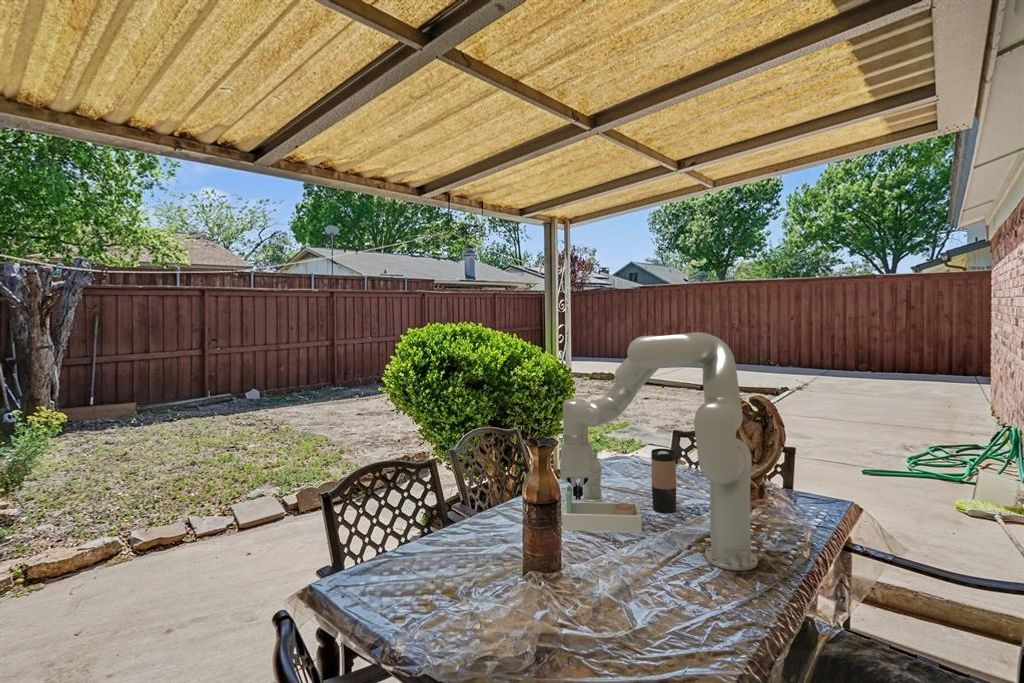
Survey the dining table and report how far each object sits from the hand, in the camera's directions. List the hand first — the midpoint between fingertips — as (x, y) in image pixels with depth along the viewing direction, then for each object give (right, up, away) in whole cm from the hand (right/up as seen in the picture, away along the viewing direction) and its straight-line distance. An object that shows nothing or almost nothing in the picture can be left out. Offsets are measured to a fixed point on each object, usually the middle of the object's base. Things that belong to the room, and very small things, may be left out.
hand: (578, 498), depth 161 cm
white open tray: (+7, -8, -1) cm, 11 cm away
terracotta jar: (+14, -7, -2) cm, 16 cm away
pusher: (-3, -7, +1) cm, 8 cm away
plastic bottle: (+6, -8, +11) cm, 15 cm away
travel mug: (+29, -7, +9) cm, 32 cm away
